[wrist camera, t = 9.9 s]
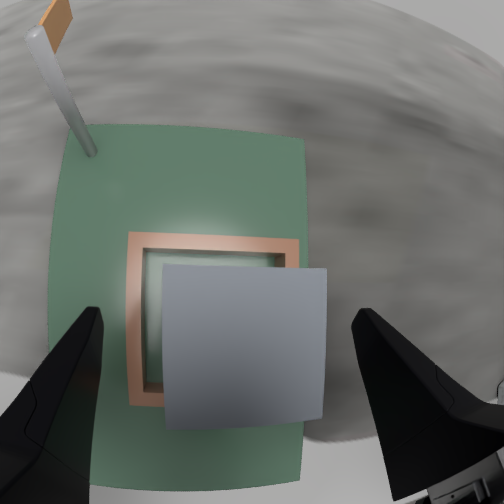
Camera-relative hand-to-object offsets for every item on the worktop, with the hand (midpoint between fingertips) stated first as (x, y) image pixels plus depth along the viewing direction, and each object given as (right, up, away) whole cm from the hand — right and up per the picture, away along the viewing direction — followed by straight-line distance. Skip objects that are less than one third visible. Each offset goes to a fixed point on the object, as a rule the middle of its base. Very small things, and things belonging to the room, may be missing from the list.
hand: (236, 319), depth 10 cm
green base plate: (-4, -1, +8) cm, 9 cm away
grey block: (-2, -2, +8) cm, 8 cm away
